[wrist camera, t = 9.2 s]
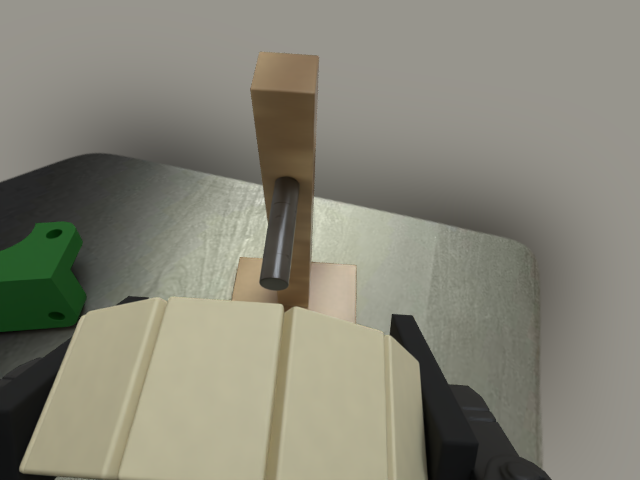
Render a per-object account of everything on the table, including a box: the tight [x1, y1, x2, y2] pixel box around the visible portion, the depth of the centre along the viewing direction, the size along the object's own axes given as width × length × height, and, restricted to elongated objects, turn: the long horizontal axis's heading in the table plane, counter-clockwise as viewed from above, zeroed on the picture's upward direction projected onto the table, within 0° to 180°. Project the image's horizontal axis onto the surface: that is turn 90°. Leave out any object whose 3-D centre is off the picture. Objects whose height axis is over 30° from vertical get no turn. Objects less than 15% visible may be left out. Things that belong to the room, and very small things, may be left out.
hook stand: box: [231, 52, 357, 324], centre depth 23 cm, size 10×10×21 cm
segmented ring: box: [19, 297, 428, 480], centre depth 10 cm, size 9×3×9 cm, turn 87°
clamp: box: [0, 222, 87, 332], centre depth 30 cm, size 12×6×9 cm, turn 90°
